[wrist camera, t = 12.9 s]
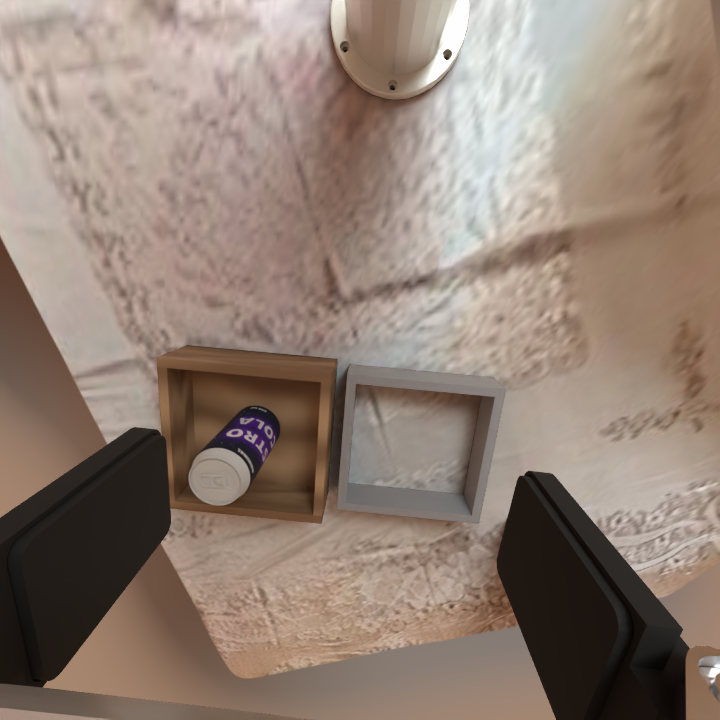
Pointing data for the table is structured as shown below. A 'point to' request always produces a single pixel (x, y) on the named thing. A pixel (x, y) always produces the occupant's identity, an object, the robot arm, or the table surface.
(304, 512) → the bin
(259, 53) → the table surface
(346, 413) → the bin
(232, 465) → the beverage can
